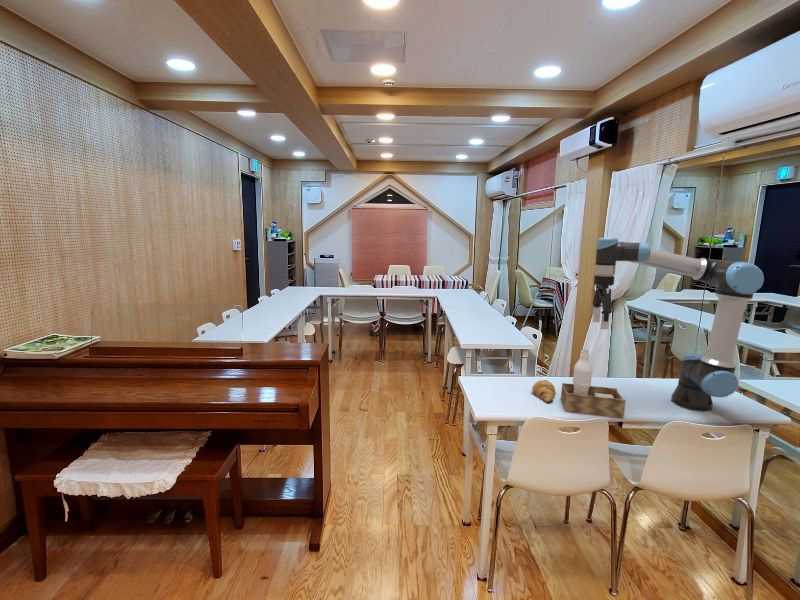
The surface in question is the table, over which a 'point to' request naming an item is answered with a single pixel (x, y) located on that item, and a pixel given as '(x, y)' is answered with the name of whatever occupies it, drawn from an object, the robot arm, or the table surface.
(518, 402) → the table surface
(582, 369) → the water bottle
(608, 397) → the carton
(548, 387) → the croissant
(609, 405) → the crate
